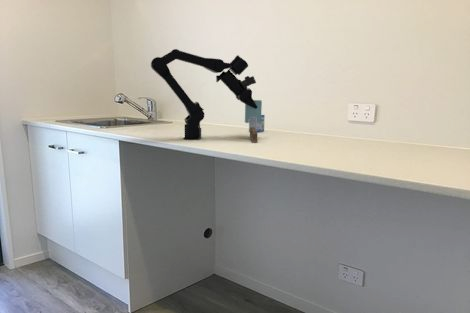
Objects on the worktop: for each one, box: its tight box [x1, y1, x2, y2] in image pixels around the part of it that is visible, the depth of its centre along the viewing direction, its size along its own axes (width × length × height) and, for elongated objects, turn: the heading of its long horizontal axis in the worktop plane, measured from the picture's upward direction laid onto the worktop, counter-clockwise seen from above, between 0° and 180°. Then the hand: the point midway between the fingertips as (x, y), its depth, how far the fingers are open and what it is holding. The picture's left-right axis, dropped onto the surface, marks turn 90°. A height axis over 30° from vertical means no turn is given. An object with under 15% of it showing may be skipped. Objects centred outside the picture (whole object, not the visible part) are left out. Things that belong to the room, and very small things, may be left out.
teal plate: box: [244, 99, 263, 124], centre depth 167 cm, size 7×3×10 cm, turn 94°
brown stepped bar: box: [249, 127, 259, 144], centre depth 160 cm, size 12×2×5 cm, turn 3°
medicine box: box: [248, 114, 266, 133], centre depth 190 cm, size 8×4×9 cm, turn 143°
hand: (256, 107), depth 167 cm, fingers closed on teal plate, 3 cm apart
